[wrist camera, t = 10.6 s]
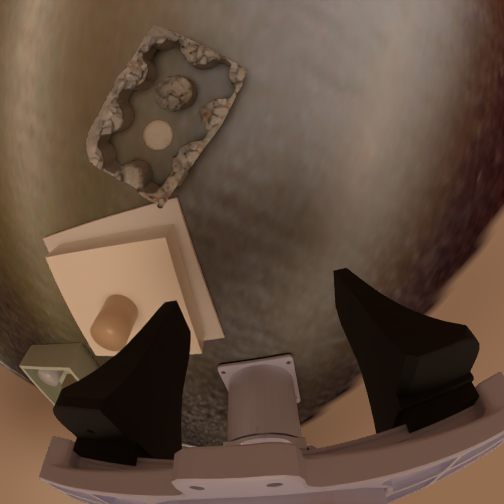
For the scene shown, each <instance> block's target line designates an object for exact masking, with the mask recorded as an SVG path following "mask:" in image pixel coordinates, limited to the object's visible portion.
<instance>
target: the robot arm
mask: <svg viewBox="0 0 504 504" xmlns="http://www.w3.org/2000/svg"><path fill="white" fill-rule="evenodd" d="M333 272H334V286H335V303H336V309H337V312H338V316H339V319H340V322H341V325H342V327H343V330H344V332H345V334H346V336H347V339H348V341H349V343H350V345H351V348H352V350H353V352H354V354H355V357H356V359H357V361H358V364H359V367H360V369H361V373H362V376H363V380H364V383H365V387H366V390H367V394H368V398H369V402H370V406H371V410H372V415H373V419H374V423H375V429H376V434H374V435H371V436H367V437H364V438H360V439H356V440H353V441H349V442H345V443H340V444H336V445H332V446H327V447H322V448H317V449H316V448H315V447H314V446H308V447H307V446H306V439H305V437H301V429H300V422H299V416H298V409H297V403H299V402H300V395H299V389H298V384H297V378H296V372H295V367H294V361H293V356H292V355H290V354H286V355H281V356H275V357H269V358H263V359H257V360H251V361H244V362H237V363H229V364H222V365H219V366H218V372H219V374H220V376H221V378H222V380H223V382H224V384H225V386H226V388H227V390H228V425H227V442H224V443H223V446H210V447H190V448H183V449H182V442H181V407H182V393H183V387H184V381H185V376H186V370H187V365H188V360H189V354H190V344H191V331H190V329H189V327H188V325H187V322H186V320H185V318H184V316H183V314H182V311H181V309H180V307H179V304H178V302H177V300H175V301H169V302H165V303H164V304H163V305H162V306H161V307H160V308H159V309H158V310H157V311H156V312H155V314H154V315H153V316H152V317H151V318H150V320H149V321H148V322H147V323H146V324H145V325H144V326H143V328H142V329H141V330H140V331H139V332H138V333H137V334H136V335H135V336H134V337H133V338H132V340H131V341H130V342H129V343H128V344H127V345H126V346H125V347H124V348H123V349H122V350H120V351H119V352H118V353H117V354H116V355H115V356H114V357H112V358H111V359H110V360H109V361H107V362H106V363H105V364H103V365H102V366H101V367H99V368H98V369H97V370H95V371H94V372H92V373H90V374H89V375H87V376H86V377H84V378H82V379H80V380H79V381H77V382H75V383H73V384H71V385H69V386H67V387H64V388H62V390H61V392H60V394H59V396H58V399H57V401H56V403H55V406H54V408H53V412H54V415H55V416H56V418H57V419H58V420H59V421H60V422H61V423H62V424H63V425H64V426H65V427H66V428H67V429H68V430H69V431H71V432H72V433H73V434H74V435H75V436H76V437H77V439H76V442H73V441H71V440H69V439H64V438H60V437H56V436H53V437H52V440H51V443H50V446H49V448H48V451H47V454H46V457H45V460H44V463H43V466H42V469H41V472H40V475H39V478H40V479H41V480H42V481H44V482H46V483H47V484H49V485H50V486H52V487H54V488H55V489H57V490H59V491H61V492H63V493H64V494H66V495H68V496H70V497H71V498H73V499H76V500H79V501H82V502H85V503H88V504H388V503H390V502H392V501H395V500H397V499H400V498H402V497H405V496H407V495H410V494H412V493H414V492H417V491H419V490H421V489H423V488H425V487H428V486H429V485H432V484H434V483H436V482H438V481H440V480H442V479H444V478H445V477H448V476H449V475H451V474H453V473H455V472H457V471H459V470H460V469H462V468H464V467H465V466H467V465H469V464H471V463H472V462H474V461H476V460H477V459H479V458H481V457H482V456H484V455H486V454H487V453H489V452H491V451H492V450H494V449H495V448H497V447H498V446H500V445H501V444H502V443H503V442H504V376H503V374H502V373H501V372H498V373H497V374H495V375H493V376H491V377H490V378H488V379H486V380H484V381H482V382H481V383H479V384H478V385H477V386H476V387H474V385H473V384H472V381H473V380H474V377H473V375H472V374H471V372H470V371H471V368H472V366H473V364H474V362H475V360H476V358H477V355H478V352H479V342H478V341H477V339H476V338H475V336H474V335H473V334H472V332H471V331H470V330H469V329H468V327H467V326H466V325H462V324H456V323H451V322H446V321H442V320H439V319H435V318H432V317H429V316H426V315H423V314H421V313H418V312H415V311H413V310H411V309H408V308H406V307H404V306H402V305H400V304H398V303H396V302H394V301H393V300H391V299H389V298H388V297H386V296H384V295H383V294H381V293H380V292H378V291H377V290H375V289H374V288H372V287H371V286H370V285H368V284H367V283H365V282H364V281H363V280H362V279H360V278H359V277H358V276H356V275H355V274H354V273H352V272H351V271H350V270H349V269H347V268H344V269H339V270H335V271H333ZM288 361H289V362H288Z"/></svg>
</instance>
